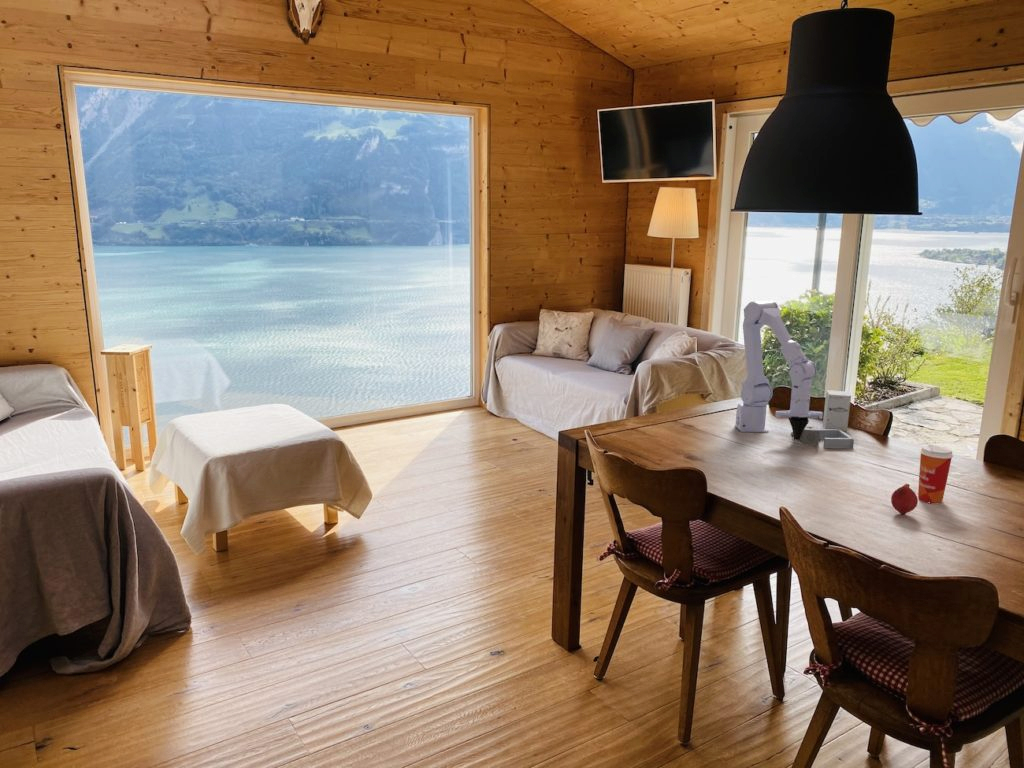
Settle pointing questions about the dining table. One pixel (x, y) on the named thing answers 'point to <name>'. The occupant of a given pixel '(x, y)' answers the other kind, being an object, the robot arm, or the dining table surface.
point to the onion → (904, 499)
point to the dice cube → (810, 435)
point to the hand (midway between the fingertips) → (796, 439)
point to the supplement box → (836, 410)
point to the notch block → (836, 438)
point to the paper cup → (933, 472)
